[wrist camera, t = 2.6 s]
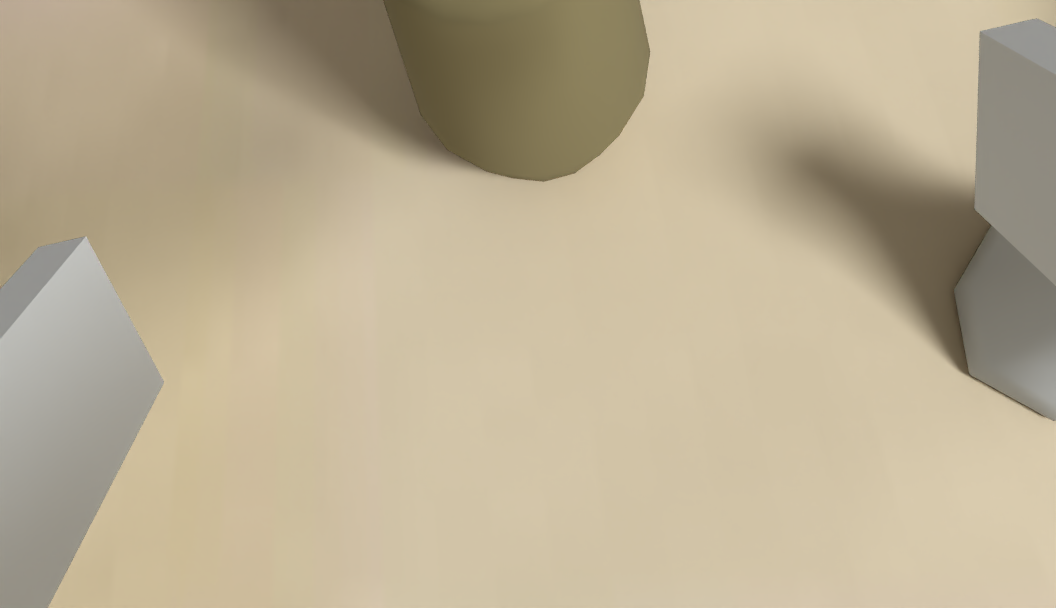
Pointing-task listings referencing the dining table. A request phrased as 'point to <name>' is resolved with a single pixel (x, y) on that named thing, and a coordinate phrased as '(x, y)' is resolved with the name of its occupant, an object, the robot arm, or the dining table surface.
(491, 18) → the squeeze bottle
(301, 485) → the dining table surface
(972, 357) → the flask
